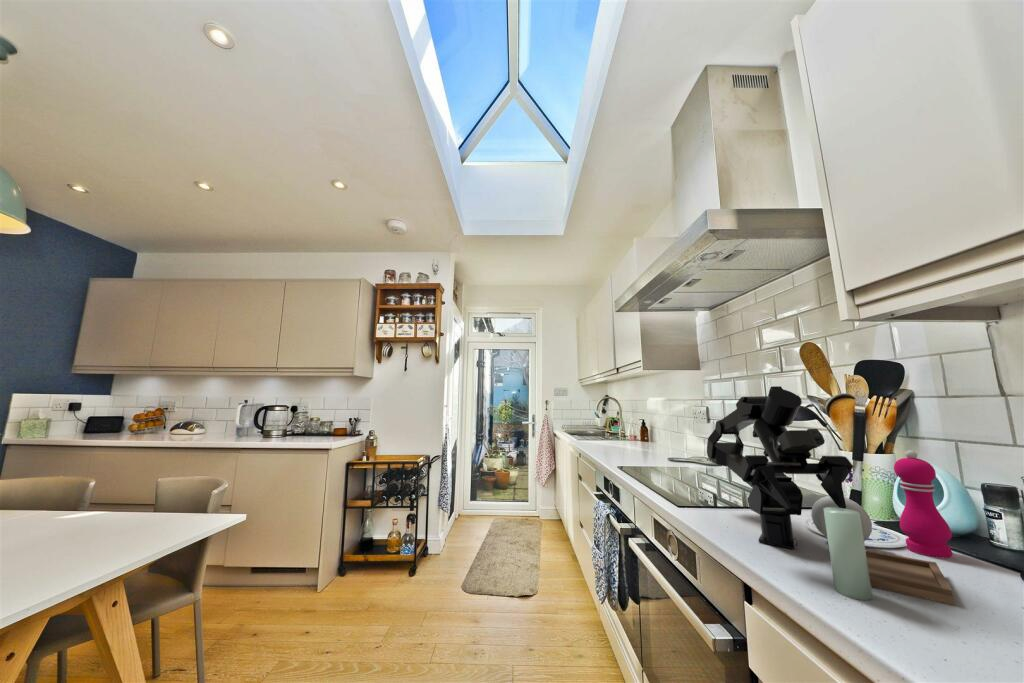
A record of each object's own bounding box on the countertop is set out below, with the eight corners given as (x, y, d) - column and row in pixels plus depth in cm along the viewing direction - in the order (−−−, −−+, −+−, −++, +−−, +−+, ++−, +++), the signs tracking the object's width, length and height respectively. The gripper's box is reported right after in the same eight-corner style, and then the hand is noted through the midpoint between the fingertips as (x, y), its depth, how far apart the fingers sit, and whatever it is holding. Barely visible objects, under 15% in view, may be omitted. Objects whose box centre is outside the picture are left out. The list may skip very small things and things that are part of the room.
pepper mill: (900, 542, 81) (884, 447, 84) (951, 550, 77) (931, 449, 80) (906, 553, 76) (888, 451, 79) (961, 562, 71) (939, 453, 74)
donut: (875, 547, 79) (867, 497, 80) (877, 552, 76) (868, 500, 78) (814, 537, 85) (808, 491, 87) (814, 541, 82) (807, 494, 84)
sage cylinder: (834, 583, 64) (823, 505, 66) (871, 591, 61) (859, 510, 63) (834, 593, 60) (822, 511, 62) (873, 603, 57) (860, 516, 59)
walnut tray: (841, 556, 75) (839, 545, 75) (938, 574, 66) (935, 562, 67) (841, 579, 65) (839, 567, 65) (954, 605, 57) (952, 590, 57)
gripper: (738, 415, 78) (773, 481, 66) (838, 414, 76) (894, 483, 63) (727, 449, 85) (757, 515, 72) (819, 450, 82) (866, 519, 69)
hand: (816, 508), depth 69 cm, fingers open, 9 cm apart
